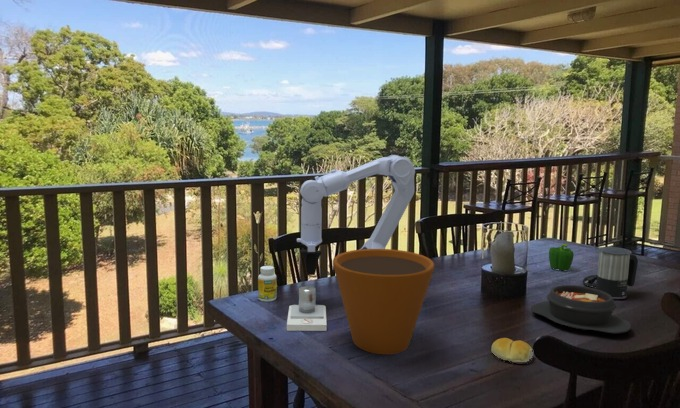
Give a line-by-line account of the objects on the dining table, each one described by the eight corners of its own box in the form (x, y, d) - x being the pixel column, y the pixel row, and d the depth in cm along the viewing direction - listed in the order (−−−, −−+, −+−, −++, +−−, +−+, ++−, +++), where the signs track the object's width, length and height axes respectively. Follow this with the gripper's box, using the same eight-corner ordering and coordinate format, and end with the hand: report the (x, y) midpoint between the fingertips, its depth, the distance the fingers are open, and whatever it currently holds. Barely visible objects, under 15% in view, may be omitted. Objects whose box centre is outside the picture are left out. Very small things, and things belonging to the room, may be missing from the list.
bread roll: (496, 346, 126) (497, 330, 126) (535, 355, 122) (536, 339, 121) (485, 358, 120) (486, 342, 119) (526, 369, 115) (527, 351, 114)
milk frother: (619, 303, 159) (624, 255, 157) (568, 289, 171) (572, 245, 169) (638, 293, 168) (643, 248, 166) (588, 281, 180) (592, 239, 178)
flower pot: (448, 356, 120) (453, 271, 117) (348, 368, 113) (350, 278, 110) (406, 318, 142) (409, 246, 139) (320, 326, 135) (322, 251, 132)
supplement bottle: (271, 294, 160) (271, 264, 158) (279, 300, 155) (279, 268, 154) (255, 297, 157) (255, 266, 155) (263, 303, 152) (262, 270, 151)
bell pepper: (545, 266, 199) (547, 240, 197) (568, 267, 198) (570, 241, 196) (550, 272, 191) (553, 245, 189) (574, 273, 190) (577, 246, 188)
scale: (325, 311, 147) (325, 303, 146) (326, 330, 133) (326, 322, 133) (289, 310, 146) (289, 303, 146) (286, 330, 132) (286, 322, 132)
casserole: (518, 319, 144) (521, 289, 143) (546, 303, 157) (549, 276, 156) (617, 347, 127) (621, 314, 126) (639, 327, 140) (643, 296, 139)
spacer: (315, 307, 143) (315, 286, 142) (315, 313, 139) (315, 291, 138) (299, 307, 143) (299, 286, 142) (298, 313, 138) (298, 291, 138)
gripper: (297, 218, 154) (297, 263, 156) (296, 228, 139) (296, 278, 142) (321, 218, 154) (320, 263, 156) (323, 228, 140) (322, 278, 142)
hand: (310, 270), depth 149 cm, fingers open, 7 cm apart
